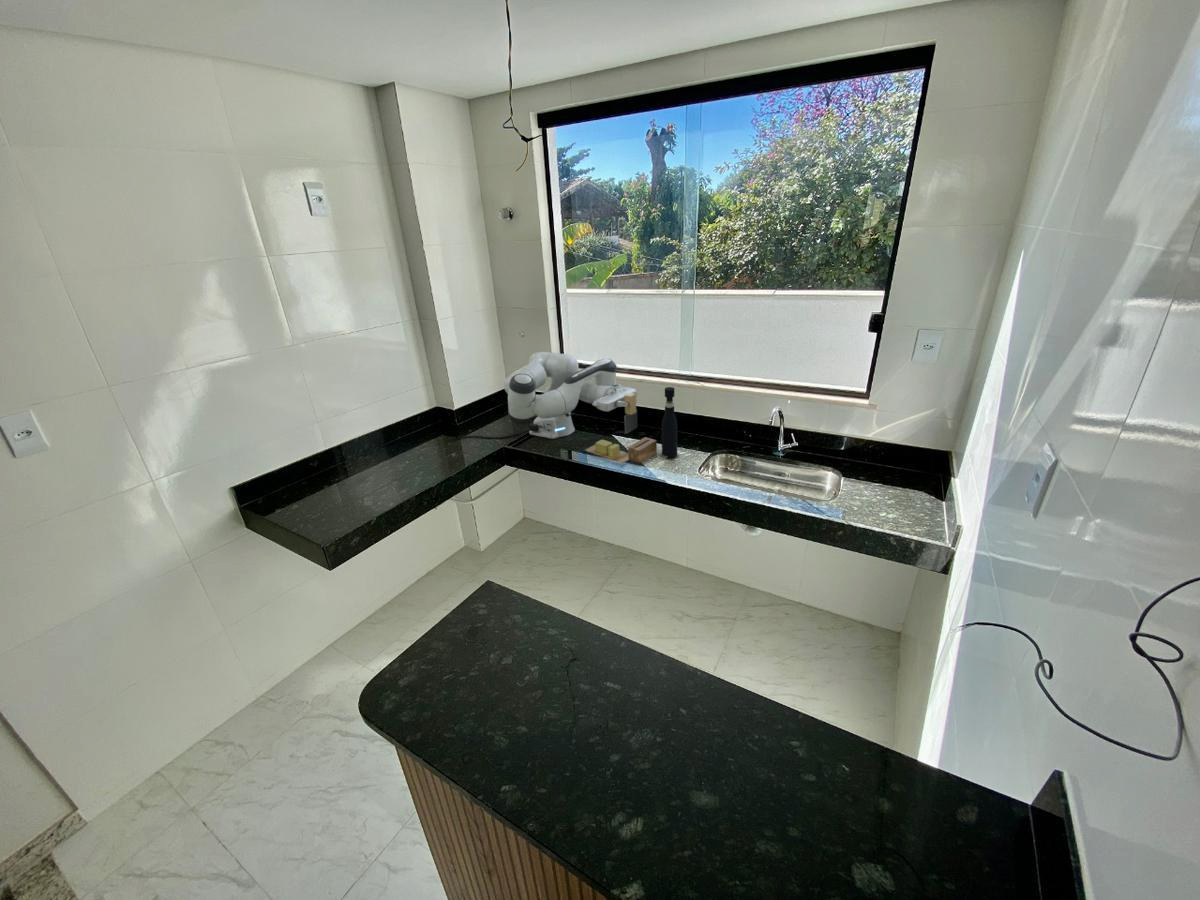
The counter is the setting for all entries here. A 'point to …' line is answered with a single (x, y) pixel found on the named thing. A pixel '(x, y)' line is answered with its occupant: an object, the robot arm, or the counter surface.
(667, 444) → the dark water bottle
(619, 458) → the board
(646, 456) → the knife block
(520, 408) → the robot arm
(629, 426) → the knife
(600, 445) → the butter
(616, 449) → the butter pat
